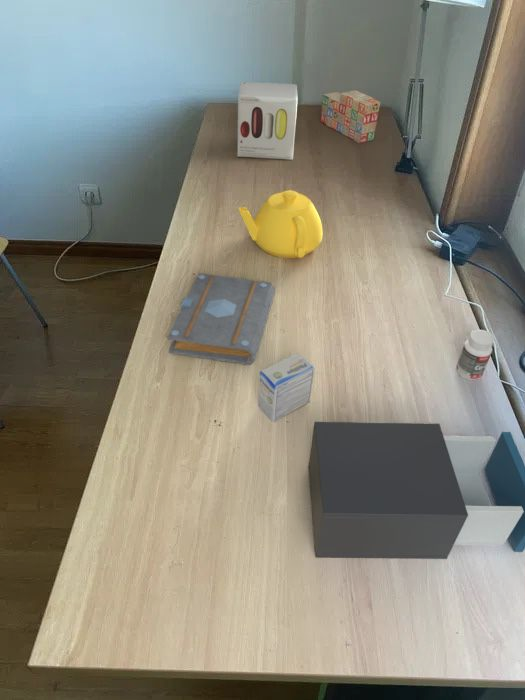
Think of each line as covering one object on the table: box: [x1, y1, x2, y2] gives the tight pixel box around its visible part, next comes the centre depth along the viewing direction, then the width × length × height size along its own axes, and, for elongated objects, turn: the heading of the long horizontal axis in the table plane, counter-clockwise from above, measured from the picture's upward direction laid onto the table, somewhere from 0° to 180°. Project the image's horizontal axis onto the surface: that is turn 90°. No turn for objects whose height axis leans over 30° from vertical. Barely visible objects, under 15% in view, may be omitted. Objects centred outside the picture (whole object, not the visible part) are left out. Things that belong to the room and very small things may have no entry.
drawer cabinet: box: [307, 421, 468, 560], centre depth 77 cm, size 18×15×11 cm
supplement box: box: [236, 81, 299, 161], centre depth 169 cm, size 17×13×18 cm
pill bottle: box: [455, 329, 495, 381], centre depth 100 cm, size 5×5×8 cm
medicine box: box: [258, 352, 315, 423], centre depth 92 cm, size 8×4×9 cm, turn 126°
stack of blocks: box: [320, 89, 381, 144], centre depth 185 cm, size 21×6×12 cm, turn 33°
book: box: [167, 272, 276, 366], centre depth 109 cm, size 21×16×5 cm
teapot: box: [238, 189, 323, 259], centre depth 129 cm, size 20×19×13 cm
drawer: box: [443, 431, 525, 553], centre depth 77 cm, size 22×13×9 cm, turn 90°
